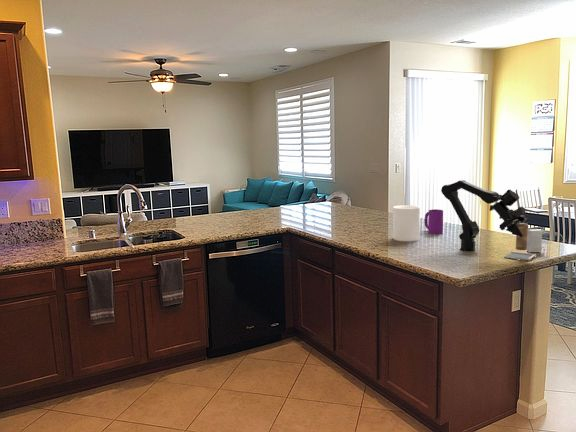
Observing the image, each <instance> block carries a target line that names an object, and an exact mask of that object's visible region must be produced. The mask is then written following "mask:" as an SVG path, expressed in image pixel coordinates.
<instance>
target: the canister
mask: <svg viewBox="0 0 576 432" xmlns="http://www.w3.org/2000/svg"><path fill="white" fill-rule="evenodd" d="M392 207H393V208H392V213H393V214H392V226H393V227H392V238H393V240H395V241H397V242H398V241H399V242H415V241H420V226H421V225H420V222H421V221H420V219H421V218H420V212H421V211H420V209H421V207H420V206H419V205H407V204H404V205H403V204H402V205H401V204H400V205H394V206H392Z"/></svg>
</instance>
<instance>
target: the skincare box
mask: <svg viewBox="0 0 576 432" xmlns="http://www.w3.org/2000/svg"><path fill="white" fill-rule="evenodd" d="M542 240H543V230H541V229H539V228H534V229H533V228H531V229H528V235H527V250H526V252H527V251H528V252H527V253H529V252H539V253H542V243H543V241H542Z"/></svg>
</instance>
